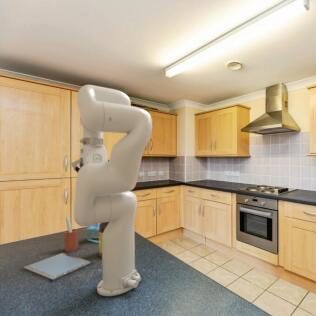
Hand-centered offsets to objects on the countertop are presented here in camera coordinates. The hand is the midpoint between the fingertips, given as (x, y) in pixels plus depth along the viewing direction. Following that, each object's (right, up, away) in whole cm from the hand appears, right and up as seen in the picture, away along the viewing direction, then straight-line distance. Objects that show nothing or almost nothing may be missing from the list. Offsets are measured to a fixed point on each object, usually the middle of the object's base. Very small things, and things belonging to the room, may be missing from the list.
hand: (93, 180), depth 94 cm
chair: (-8, -32, +14) cm, 36 cm away
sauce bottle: (+7, -33, -1) cm, 33 cm away
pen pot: (-12, -32, +2) cm, 35 cm away
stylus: (-11, -32, +2) cm, 34 cm away
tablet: (-6, -33, -12) cm, 35 cm away
